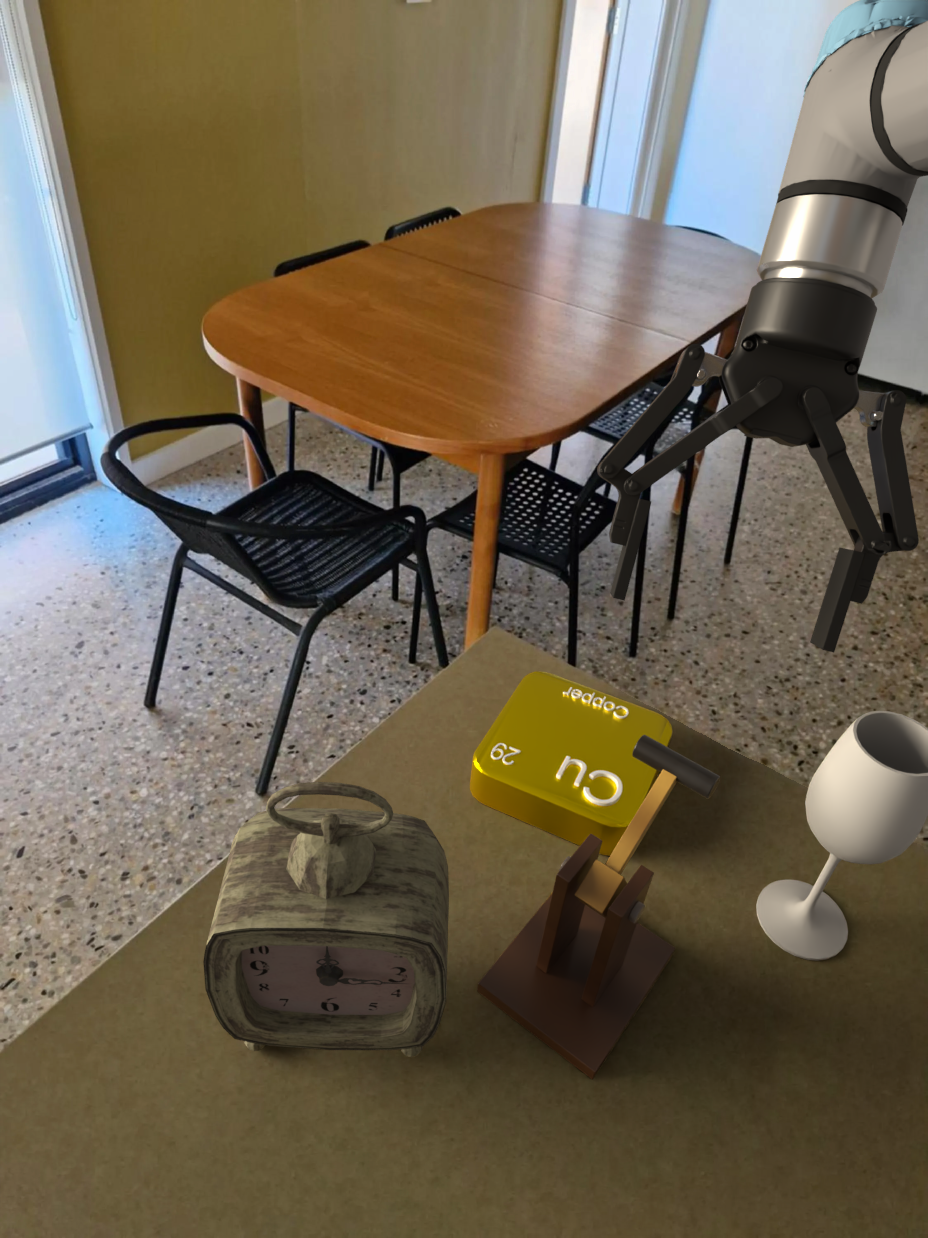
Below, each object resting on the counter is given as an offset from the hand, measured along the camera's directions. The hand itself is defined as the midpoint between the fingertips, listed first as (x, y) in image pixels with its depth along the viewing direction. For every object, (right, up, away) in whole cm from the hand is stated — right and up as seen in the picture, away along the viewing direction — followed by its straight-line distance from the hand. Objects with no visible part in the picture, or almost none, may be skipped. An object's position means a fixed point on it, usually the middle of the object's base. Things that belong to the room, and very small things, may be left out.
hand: (718, 622), depth 58 cm
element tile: (-7, -14, +25) cm, 29 cm away
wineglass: (+11, -24, +14) cm, 30 cm away
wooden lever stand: (-8, -27, +9) cm, 29 cm away
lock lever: (-4, -15, +4) cm, 16 cm away
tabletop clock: (-26, -28, +6) cm, 38 cm away
